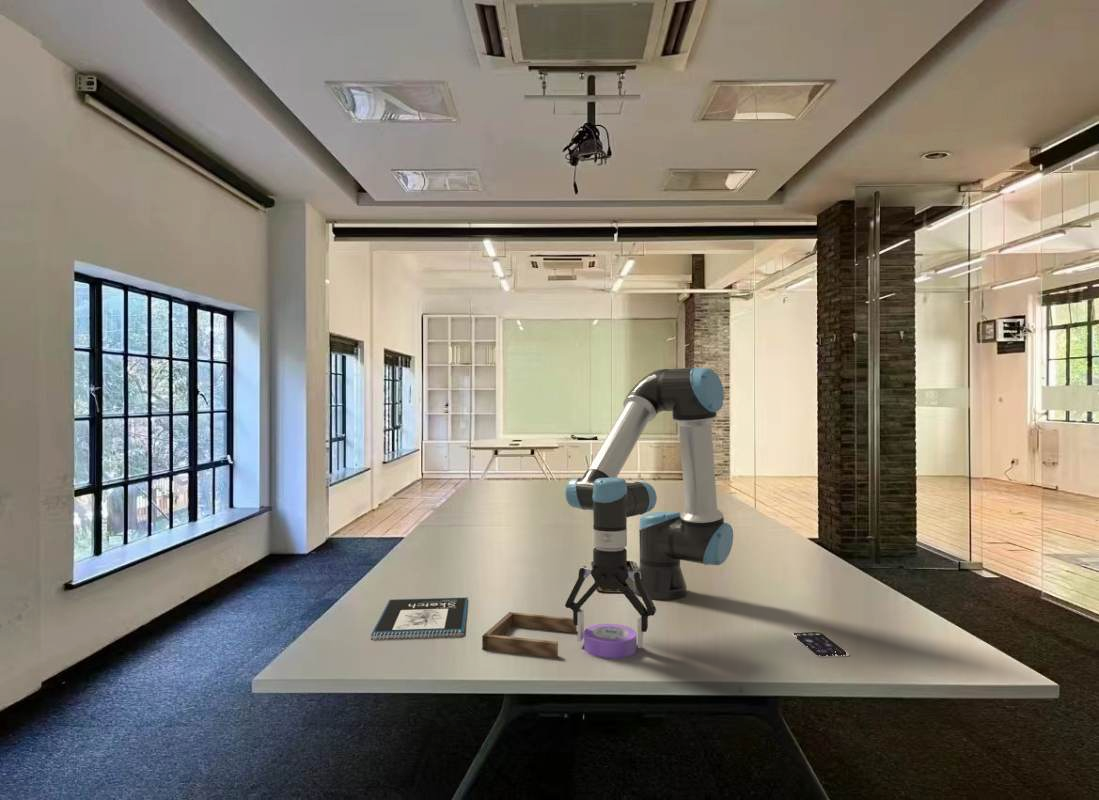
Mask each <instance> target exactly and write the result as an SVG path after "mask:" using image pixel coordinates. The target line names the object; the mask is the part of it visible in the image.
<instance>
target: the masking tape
mask: <svg viewBox="0 0 1099 800" xmlns="http://www.w3.org/2000/svg"><path fill="white" fill-rule="evenodd" d="M583 648H584V651H585V652H586V653H587V654H589V655H591V656H594V657H597V656H599V657H598V658H602V657H604V658H605V659H621V658H627V657H630V656H632V655H634V654H635V653H636V652H637V648H638V640H637V632H636V630H635V629H633V628H631V627H630V626H627V625H622V624H618V623H600V624H594V625H593V624H592V625H590V626H588V627H587V628H585V629H584V638H583Z"/></svg>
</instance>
